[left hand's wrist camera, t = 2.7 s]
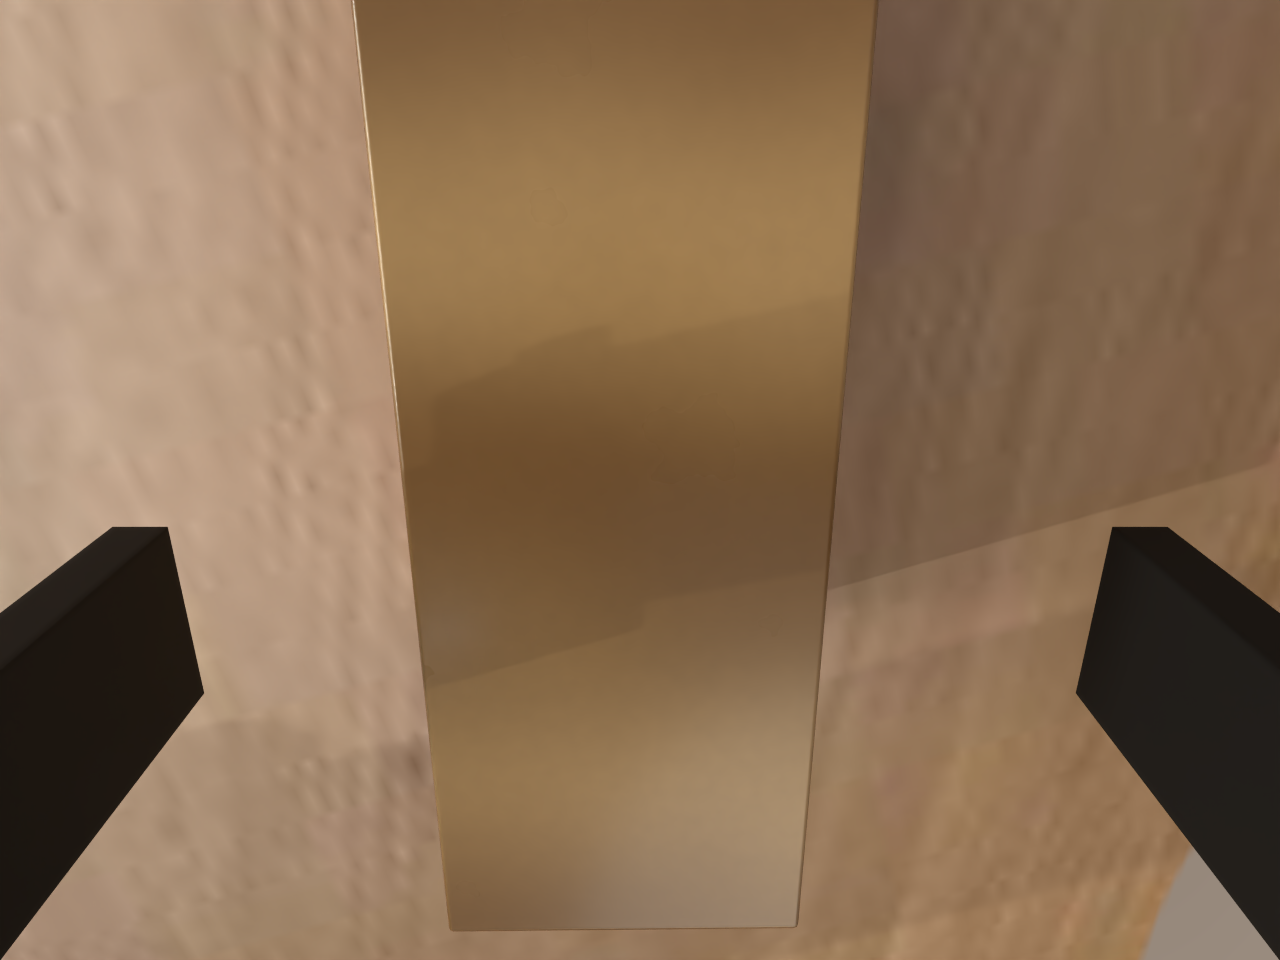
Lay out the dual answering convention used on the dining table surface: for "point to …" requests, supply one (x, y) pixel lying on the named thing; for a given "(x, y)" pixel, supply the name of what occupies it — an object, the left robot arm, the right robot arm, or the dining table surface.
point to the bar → (618, 433)
